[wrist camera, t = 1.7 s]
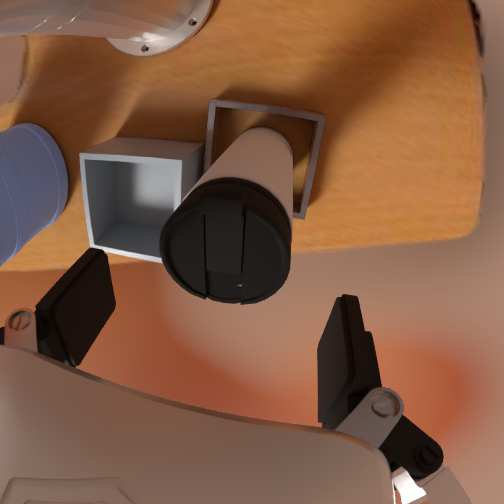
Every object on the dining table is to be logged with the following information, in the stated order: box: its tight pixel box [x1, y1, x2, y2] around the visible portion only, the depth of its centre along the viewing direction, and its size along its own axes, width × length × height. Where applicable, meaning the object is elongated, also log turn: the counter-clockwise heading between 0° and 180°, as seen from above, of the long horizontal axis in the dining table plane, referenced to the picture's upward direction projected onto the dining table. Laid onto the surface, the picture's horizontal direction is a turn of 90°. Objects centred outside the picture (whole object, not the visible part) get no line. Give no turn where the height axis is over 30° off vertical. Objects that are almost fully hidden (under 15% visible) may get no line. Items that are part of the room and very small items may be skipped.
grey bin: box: [79, 137, 204, 263], centre depth 30 cm, size 11×11×7 cm
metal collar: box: [204, 98, 326, 220], centre depth 29 cm, size 11×11×2 cm
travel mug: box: [159, 127, 293, 305], centre depth 22 cm, size 6×7×20 cm
